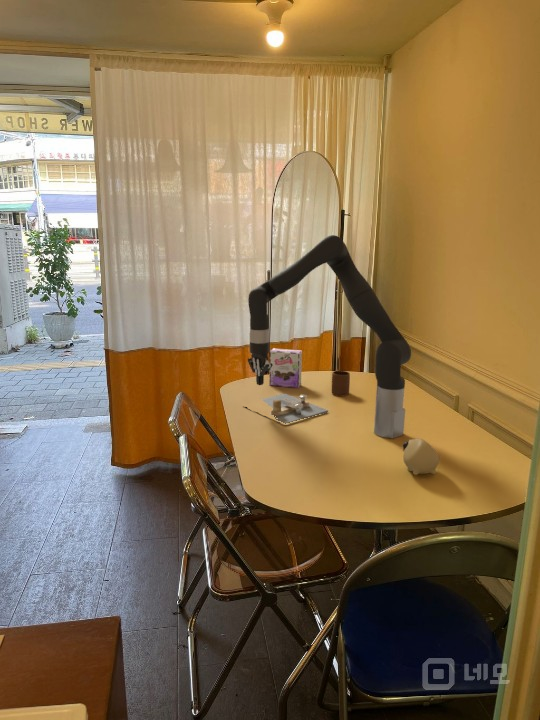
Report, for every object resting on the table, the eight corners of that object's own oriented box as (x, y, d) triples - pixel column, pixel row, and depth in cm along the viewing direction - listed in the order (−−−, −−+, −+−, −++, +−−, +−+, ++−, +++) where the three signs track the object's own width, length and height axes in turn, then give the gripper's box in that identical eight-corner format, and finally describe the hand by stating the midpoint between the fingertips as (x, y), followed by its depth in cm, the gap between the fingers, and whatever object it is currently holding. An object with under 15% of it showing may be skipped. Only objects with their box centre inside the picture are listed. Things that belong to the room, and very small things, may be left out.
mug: (327, 388, 224) (328, 368, 222) (343, 387, 225) (344, 367, 223) (333, 396, 213) (334, 375, 211) (351, 396, 214) (352, 375, 211)
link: (302, 403, 201) (303, 390, 200) (311, 406, 198) (312, 393, 196) (269, 413, 189) (269, 399, 188) (278, 417, 186) (278, 403, 185)
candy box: (268, 385, 228) (269, 350, 223) (272, 382, 233) (272, 347, 229) (298, 388, 224) (299, 352, 219) (301, 384, 229) (302, 349, 225)
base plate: (328, 412, 194) (328, 410, 194) (285, 425, 181) (285, 423, 181) (284, 395, 214) (284, 393, 214) (242, 406, 200) (242, 404, 200)
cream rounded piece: (427, 462, 154) (430, 429, 151) (443, 481, 142) (446, 446, 139) (395, 462, 153) (398, 430, 150) (409, 482, 141) (412, 447, 139)
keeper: (316, 410, 194) (317, 399, 193) (297, 415, 188) (297, 404, 187) (299, 403, 201) (300, 392, 200) (280, 408, 195) (280, 397, 194)
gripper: (278, 341, 186) (278, 386, 190) (256, 336, 196) (257, 379, 200) (262, 344, 181) (263, 390, 186) (241, 339, 191) (241, 382, 196)
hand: (259, 384), depth 193 cm, fingers closed
